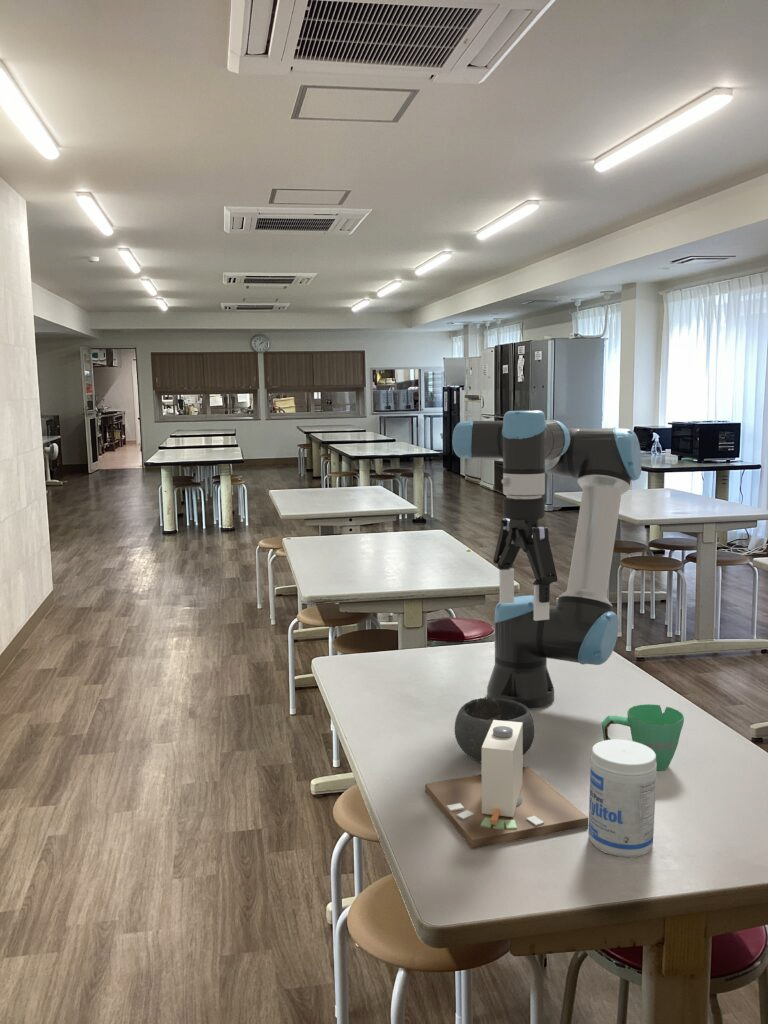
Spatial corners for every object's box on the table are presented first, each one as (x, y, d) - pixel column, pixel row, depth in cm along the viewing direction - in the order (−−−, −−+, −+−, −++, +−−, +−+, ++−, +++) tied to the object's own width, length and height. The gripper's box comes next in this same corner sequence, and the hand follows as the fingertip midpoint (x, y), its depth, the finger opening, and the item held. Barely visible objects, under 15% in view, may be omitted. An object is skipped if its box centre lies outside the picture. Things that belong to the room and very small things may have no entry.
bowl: (440, 751, 161) (440, 702, 159) (507, 738, 166) (507, 690, 165) (479, 783, 147) (479, 729, 146) (549, 767, 153) (550, 715, 152)
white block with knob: (493, 780, 144) (493, 715, 142) (522, 783, 142) (522, 717, 141) (477, 824, 129) (477, 752, 127) (509, 828, 127) (509, 755, 126)
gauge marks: (514, 795, 139) (514, 793, 139) (544, 824, 129) (544, 822, 129) (446, 807, 135) (446, 805, 135) (473, 838, 125) (473, 836, 125)
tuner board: (528, 774, 150) (528, 765, 150) (588, 826, 131) (588, 816, 131) (425, 791, 144) (424, 782, 144) (472, 849, 125) (472, 838, 125)
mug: (672, 754, 157) (673, 703, 156) (690, 777, 148) (691, 723, 146) (594, 755, 158) (595, 704, 157) (607, 778, 148) (608, 724, 147)
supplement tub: (577, 845, 126) (578, 752, 124) (605, 821, 133) (606, 733, 131) (638, 867, 119) (640, 770, 118) (664, 840, 127) (666, 748, 125)
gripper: (476, 491, 161) (476, 598, 163) (538, 504, 137) (538, 629, 140) (511, 489, 163) (510, 594, 166) (578, 502, 139) (577, 625, 142)
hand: (523, 611), depth 153 cm, fingers open, 13 cm apart
